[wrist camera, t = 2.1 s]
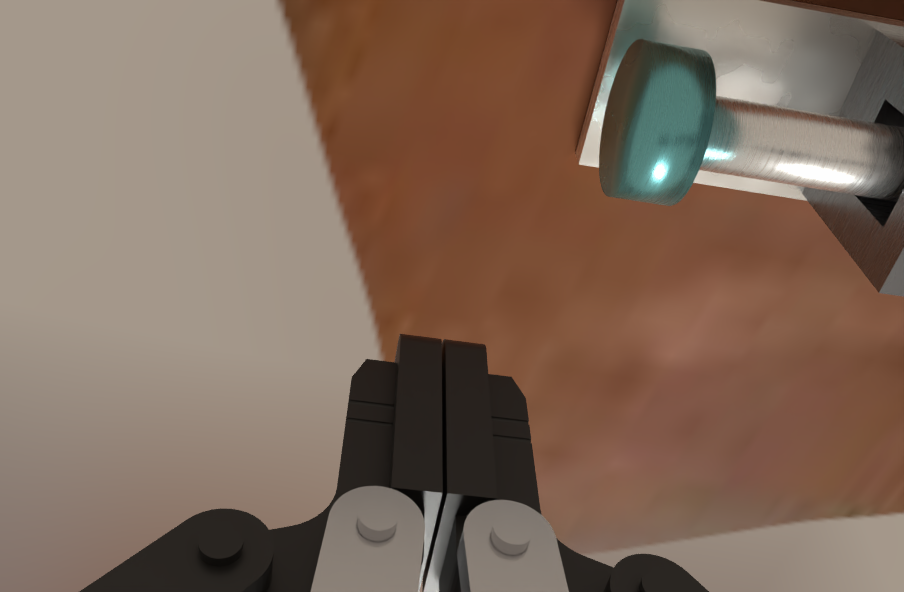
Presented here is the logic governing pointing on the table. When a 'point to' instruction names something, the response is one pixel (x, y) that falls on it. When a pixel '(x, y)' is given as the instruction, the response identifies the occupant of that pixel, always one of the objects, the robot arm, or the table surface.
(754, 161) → the shaft
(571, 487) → the table surface
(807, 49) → the shaft housing
